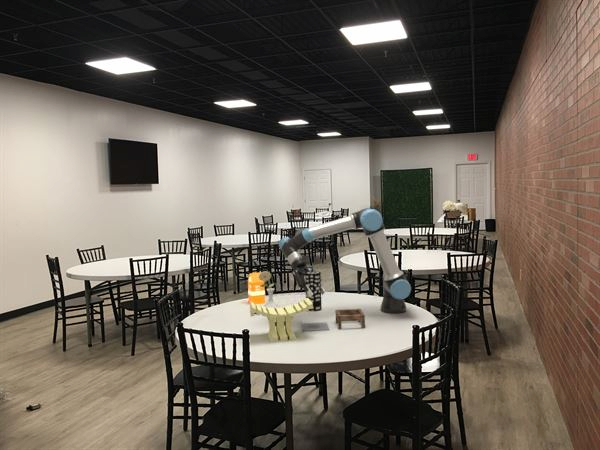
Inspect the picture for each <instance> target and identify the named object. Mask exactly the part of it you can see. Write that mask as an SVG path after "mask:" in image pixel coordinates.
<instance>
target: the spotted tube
mask: <svg viewBox="0 0 600 450" xmlns="http://www.w3.org/2000/svg"><path fill="white" fill-rule="evenodd" d="M321 276H322V274H321V271H315V270H314V271H311V272H306V273H305V276H304V279H305V284H306V285H308V287H309V288H310V290H311V291H312V293H313V295H312V297H311V298H310V297H309V295H308V294H307V292H305V298H309V300H310V301H311V302H312V303H313V309H309V312H319V311H322V309H323V307H322V294H321V284H322V281H321V279H322V277H321Z"/></svg>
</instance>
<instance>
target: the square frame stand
mask: <svg viewBox="0 0 600 450" xmlns="http://www.w3.org/2000/svg"><path fill="white" fill-rule="evenodd" d="M334 311H335V312H334V313H335V323H336V324H337V325H338V327H337V329H338V330H342V322H358V323H361V329H365V328H366V317H365V313H364V312H363V311H362V309H361V308H349V309H348V308H347V309H344V308H343V309H334Z"/></svg>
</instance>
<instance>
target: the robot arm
mask: <svg viewBox="0 0 600 450" xmlns="http://www.w3.org/2000/svg"><path fill="white" fill-rule="evenodd" d="M383 222H384V220H383V217H382V214H381V213H380V212H379V211H378V210H377V209H373V208H368V207H367V208H363V209H360V210H358V211H355V212H353V213H350V215H348V216H345V217H341V218H338V219H335V220H331V221H328V222H324V223H320V224H317V225H313V226H310V227H307V228H303V229H302V228H301V229H298V230H297V231H296V232H295V235H294V236H293V237H291V238H290V237H288V236H287V237H283V238H281V240H279V242H278V247H279V249H280V250H281V252H282V253H283V255H284V257H285V259H286V260H287V262H288V263H289V265H290V266H291V268H292V269H293V271H292V272H291V274H292V275H293V278H294V279H295V281H296V284H297V286H298V288H300V289H303V290H304V292H305V293H306V292H307V294H308V295H309V297H310V298H311V297H312V295H313V293H312V291H311V290H310V288H309V287H308V285H306V284H305V273H306V272H311V271H315V270H314V268H313V266H311V267H307V263H306V261H305V260H304V258H303V256H302V255H301V254H300V252H299V250H301V249H302V248H303V247H304V246H306V245H308V244H309V243H311V242H312V241H314V240H318V239H320V238H324V237H327V236H330V235H334V234H338V233H342V232H345V231H348V230H352V229H354V230H358V229H362V230H363V233H364V236H365V237H367V238H369V240H370V242H371V244H372V247H373V250H374V252H375V254H376V256H377V259H378V261H379V265H380V266H381V268H382V271H383V274H382V285H383V287H382V291H383V293H382V294H383V295H382V296H383V298H382V301H381V304H380V311H381V313H382V312H383V313H385V314H401V313H405V312H407V304H406V302H405V300H404V299H406V298H408V297H409V296H410V294H411V291H412V286H411V284H410V283H409V281H408V280H407V277H406V275H405V273H404V271H402V270H400V267H399V266H398V263H397V260H396V258H395V256H394V254H393V251H392V249H391V247H390V244H389V241H388V238H387V236H386V234H385V232H384V231H385V230H386V228H385V224H384V223H383ZM322 281H323V279H322V278H321V282H322ZM325 293H326V290H325V288H324V286H323V285H322V283H321V296H322V295H324V294H325Z"/></svg>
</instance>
